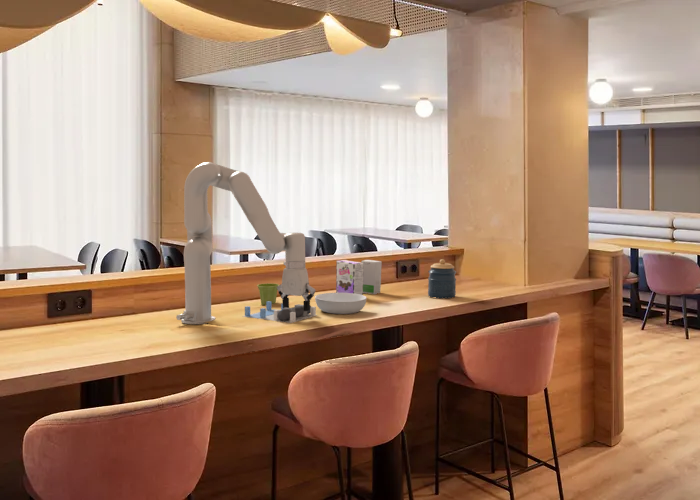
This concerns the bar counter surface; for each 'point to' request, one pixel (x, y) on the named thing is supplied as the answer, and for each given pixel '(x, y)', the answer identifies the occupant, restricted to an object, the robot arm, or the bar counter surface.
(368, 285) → the skincare box
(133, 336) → the bar counter surface
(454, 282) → the canister
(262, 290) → the plant pot
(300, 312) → the dark grey rounded bar
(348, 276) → the candy box
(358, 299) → the serving bowl
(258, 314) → the blue grey peg board
